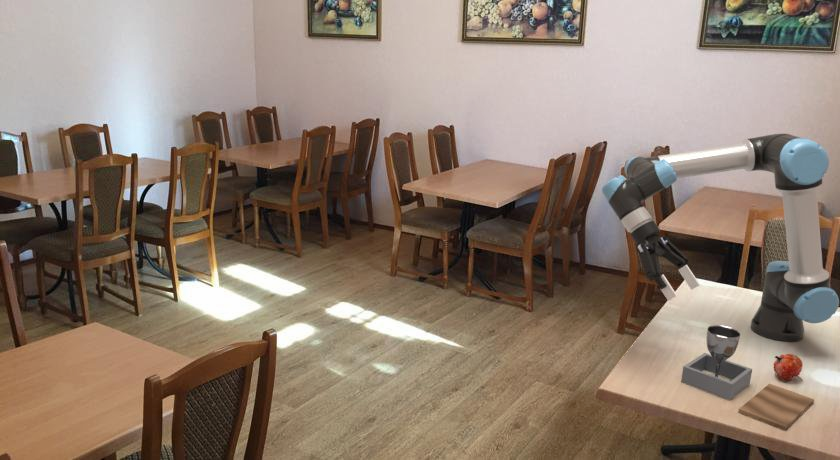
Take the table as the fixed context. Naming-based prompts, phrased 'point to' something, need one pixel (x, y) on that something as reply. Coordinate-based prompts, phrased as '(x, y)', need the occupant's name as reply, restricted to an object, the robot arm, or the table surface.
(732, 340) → the wine glass
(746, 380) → the square frame
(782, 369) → the pomegranate
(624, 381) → the table surface
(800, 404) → the board
